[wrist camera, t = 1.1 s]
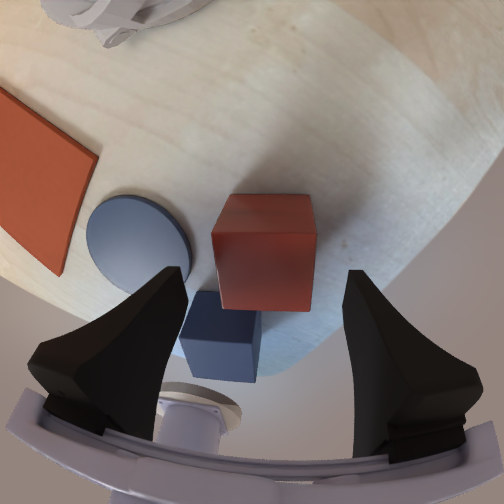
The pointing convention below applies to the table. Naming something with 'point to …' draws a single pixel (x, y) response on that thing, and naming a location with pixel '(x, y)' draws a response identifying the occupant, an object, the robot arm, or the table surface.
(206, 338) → the blue block
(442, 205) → the table surface
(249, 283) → the red block
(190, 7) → the grey mechanical part
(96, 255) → the blue coaster
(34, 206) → the terracotta mat
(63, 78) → the table surface
